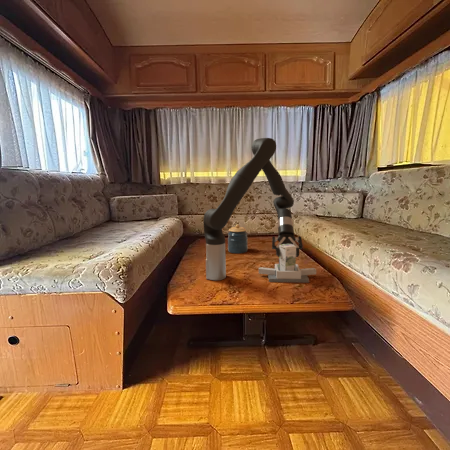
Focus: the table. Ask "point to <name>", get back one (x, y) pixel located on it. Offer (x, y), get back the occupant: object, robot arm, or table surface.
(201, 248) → the table surface
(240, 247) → the canister
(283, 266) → the syrup box
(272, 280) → the base
